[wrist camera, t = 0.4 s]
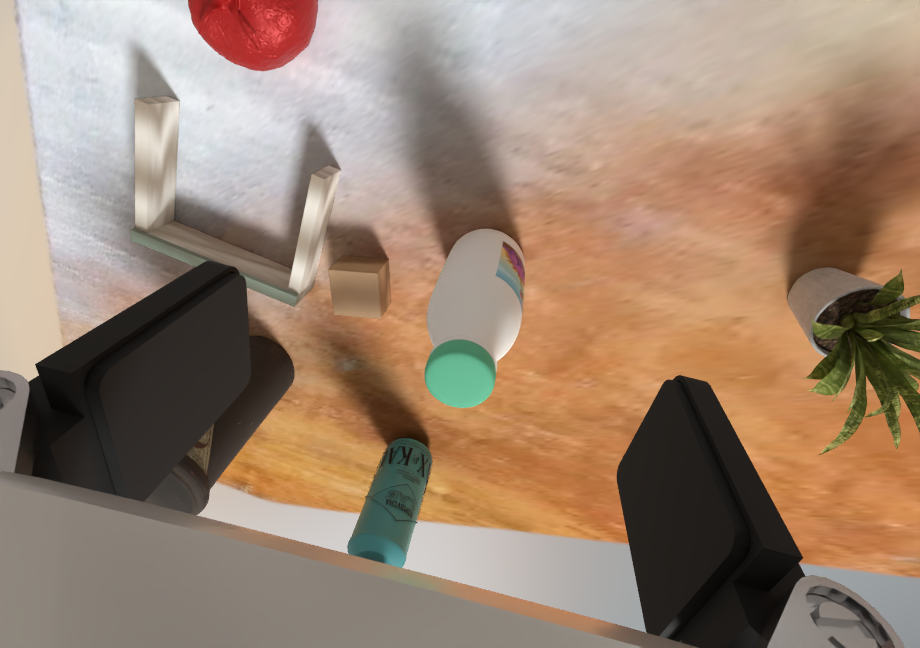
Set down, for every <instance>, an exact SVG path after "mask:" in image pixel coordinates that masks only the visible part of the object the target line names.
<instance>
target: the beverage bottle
mask: <svg viewBox="0 0 920 648" xmlns="http://www.w3.org/2000/svg"><path fill="white" fill-rule="evenodd" d="M385 450H386V451H385V452H383V454H384V456H383V458H382V460H381V459H380V460H381V461H380V462H381V463H380V464H378V466H379V468H378V467H377V468H378V470H377V469H376V471H377V473H376V475H375V474H374V475H375V476H374V478H373V479H374V480H373V482H371V484H372V485H371V488H370V490H369V492H368V495H367V498H366V496H365V498H366V501H365V504H364V506H363V509H362V511H361V514H360V516H359V519H358V521H357V524H356V527H355V529H354V531H353V534H352V537H351V538H350V540H349V542H348V553H349V554H350V555H354V556H357V557H361V558H365V559H369V560H373V561H377V562H381V563H385V564H388V565H392V566H396V567H400V568H402V567H403V565H404V564H405V561H406V555H407V551H408V548H409V544H410V540H411V537H412V533H413V530H414V527H415V524H416V523H417V522H416V520H417V516H418V514H419V510H421V509H420V507H421V506H420V505H421V502H423V501H422V499H423V495H424V493H425V491H424V490H426V488H425V487H427V483H428V479H429V477H428V476H429V475H430V473H429V472H431V471H430V468H431V464H432V462H433V461H432V457H431V453H430V451H429V449H428V448H427V447H426V446H425V445H424V444H422V443H421V442H419V441H417V440H414V439H409V438H401V439H397V440H395V441H393V442H392V443H391V444H389V446H388V447H387V448H386V449H385ZM424 496H425V495H424Z"/></svg>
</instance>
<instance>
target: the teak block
mask: <svg viewBox="0 0 920 648" xmlns="http://www.w3.org/2000/svg"><path fill="white" fill-rule="evenodd" d="M328 272H329V280H330V287H331V295H332V302H333V310H334V315H344V316H355V317H366V318H378V319H381V318H382V316H383V315H384V313H385V311H386V310H387V308H388V306H389V305H390V303H391V289H390V273H389V259H381V258H367V257H353V256H342V257H341V258H340V259H339V260H338V261H337V262H336V263H335V264H334V265H333V266H332V267H331V268H330V269H329V270H328Z"/></svg>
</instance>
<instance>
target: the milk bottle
mask: <svg viewBox="0 0 920 648" xmlns="http://www.w3.org/2000/svg"><path fill="white" fill-rule="evenodd" d="M524 279H525V262H524V257H523V253H522V251H521V249H520V247H519V246H518V244H517V243H516V242H515V241H514V240H513V239H512V238H511V237H509V236H508V235H506V234H505V233H503V232H500V231H497V230H493V229H478V230H474V231H471V232H469V233H467V234H465V235H463V236H462V237H461V238H460V239H459V240H458V241H457V242H456V243H455V244H454V246H453V248H452V250H451V251H450V253H449V256H448V258H447V260H446V262H445V264H444V267H443V269H442V271H441V273H440V276H439V278H438V281H437V283H436V285H435V288H434V290H433V293H432V296H431V299H430V302H429V306H428V312H427V327H428V332H429V336H430V339H431V341H432V344H433V346H434V347H433V349H432V351H431V353H430V357H429V359H428V361H427V364H426V368H425V382H426V385H427V388H428V390H429V391H430V393H431V394H432V395H433V396H434V397H435V398H436V399H438V400H439V401H441V402H442V403H444V404H447V405H449V406H453V407H459V408H467V407H472V406H476V405H478V404H480V403H482V402H483V401H485V400H486V399H487V398H488V397H489V395H490V394H491V392H492V390H493V388H494V384H495V379H496V370H497V361H498V360H499V359H501V358H502V357H503V356H504V355H505V354H506V353H507V352H508V351H509V349H510V348H511V347H512V345H513V343H514V342H515V340H516V338H517V335H518V332H519V329H520V326H521V319H522V312H523V298H524Z"/></svg>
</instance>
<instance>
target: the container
mask: <svg viewBox="0 0 920 648" xmlns="http://www.w3.org/2000/svg"><path fill="white" fill-rule="evenodd" d="M249 342H250V360H251V377H250V380H249V383H248V385H247V386H246V388H245V389H244V390H243V391H242V392H241V393H240V395H239V396H238V397H237V398H236V399H235V400H234V401H233V402H232V404H231V405H230V406H229V407H228V408H227V409H226V410H225V411H224V413H223V414H222V415H221V416H220V417H219V418H218V419H217V420H216V422H215V423H214V424H213V425H212V426H211V427H210V428H209V429H208V431H207V432H206V433H205V434H204V435H203V436H202V437H201V438H200V440H199V441H198V442H197V443H196V444H195V445H194V446H193V447H192V449H191V450H190V451H189V452H188V453H187V454H186V455H185V456H184V458H183V459H182V460H181V461H180V462H179V463H178V464H177V465H176V467H175V468H174V469H173V470H172V471H171V472H170V473H169V474H168V476H167V477H166V478H165V479H164V480H163V481H162V482H161V483H160V485H159V486H158V487H157V488H156V489H155V490H154V491H153V492H152V494H151V495H150V496H149V497H148V498H147V499H146V500H145V501H144V502H145V503H149V504H153V505H157V506H161V507H165V508H169V509H173V510H177V511H181V512H185V513H189V514H192V515H198V514H199V513H200V512H201V511H202V510H203V509H204V508H205V507H206V505H207V503H208V500H209V492H210V489H211V487H212V486H213V485H214V484H215V482H216V481H217V480H218V478H219V477H220V476H221V474H222V473H223V472H224V470H225V469H226V468H227V466H228V465H229V464H230V462H231V461H232V460H233V459H234V457H235V456H236V455H237V454H238V452H239V451H240V450H241V449H242V447H243V446H244V445H245V443H246V442H247V441H248V440H249V438H250V437H251V436H252V434H253V433H254V432H255V430H256V429H257V428H258V427H259V425H260V424H261V423H262V422H263V420H264V419H265V418H266V416H267V415H268V414H269V413H270V411H271V410H272V409H273V408H274V406H275V405H276V404H277V403H278V401H279V400H280V399H281V398H282V397H283V395H284V394H285V393H286V391H287V390H288V389H289V387H290V386H291V384H292V382H293V380H294V368H293V364H292V362H291V360H290V358H289V356H288V355H287V354H286V352H285V351H284V350H283V349H282V348H281V347H280V346H278V345H277V344H276V343H274V342H272V341H270V340H268V339H265V338H263V337H257V336H251V337H249Z"/></svg>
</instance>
